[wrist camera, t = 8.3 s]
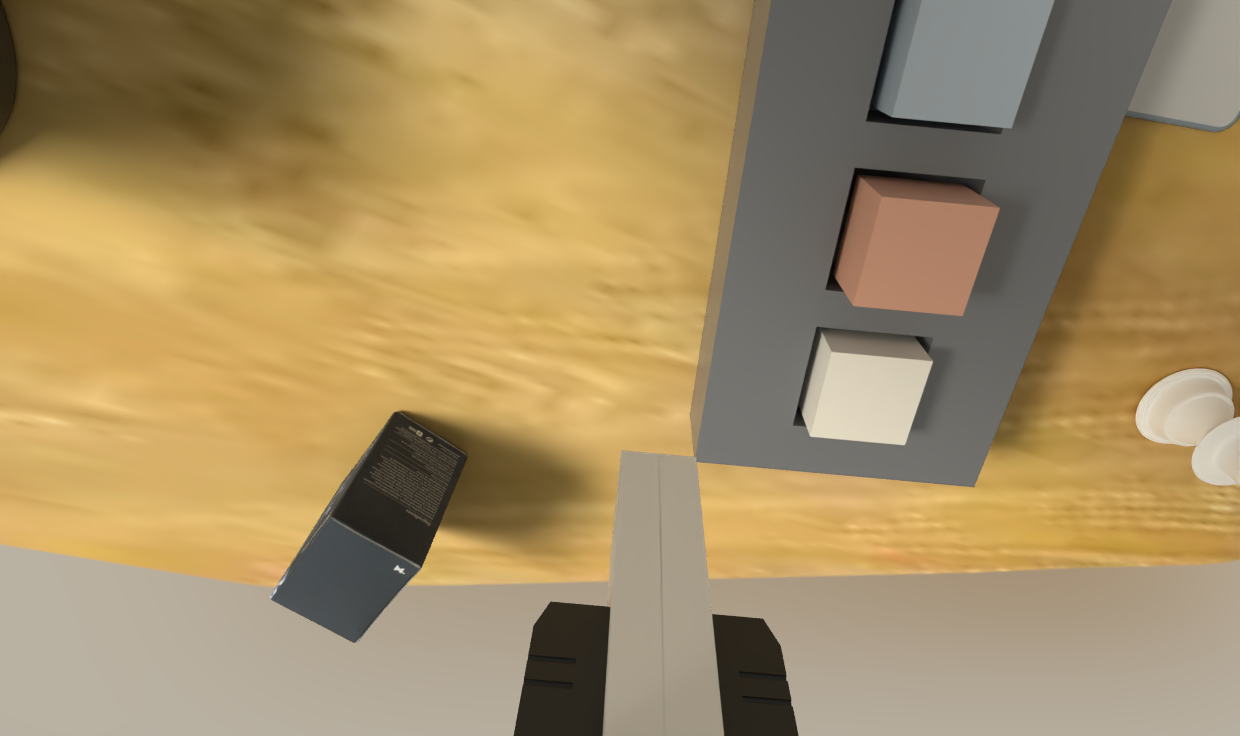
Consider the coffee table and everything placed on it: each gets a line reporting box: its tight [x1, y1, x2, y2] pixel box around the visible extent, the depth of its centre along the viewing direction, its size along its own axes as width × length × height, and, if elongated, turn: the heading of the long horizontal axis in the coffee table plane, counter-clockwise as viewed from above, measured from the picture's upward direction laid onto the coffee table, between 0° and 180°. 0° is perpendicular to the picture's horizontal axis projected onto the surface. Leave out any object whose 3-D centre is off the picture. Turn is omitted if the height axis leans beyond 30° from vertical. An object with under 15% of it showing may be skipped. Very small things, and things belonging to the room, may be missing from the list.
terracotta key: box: [833, 174, 1000, 316], centre depth 33 cm, size 5×5×4 cm
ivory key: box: [798, 327, 933, 445], centre depth 37 cm, size 5×5×4 cm
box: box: [270, 412, 467, 643], centre depth 43 cm, size 8×6×11 cm
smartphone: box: [1125, 0, 1240, 132], centre depth 33 cm, size 8×1×15 cm
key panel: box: [690, 0, 1172, 487], centre depth 36 cm, size 16×28×5 cm, turn 175°
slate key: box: [870, 0, 1055, 128], centre depth 30 cm, size 5×5×4 cm
